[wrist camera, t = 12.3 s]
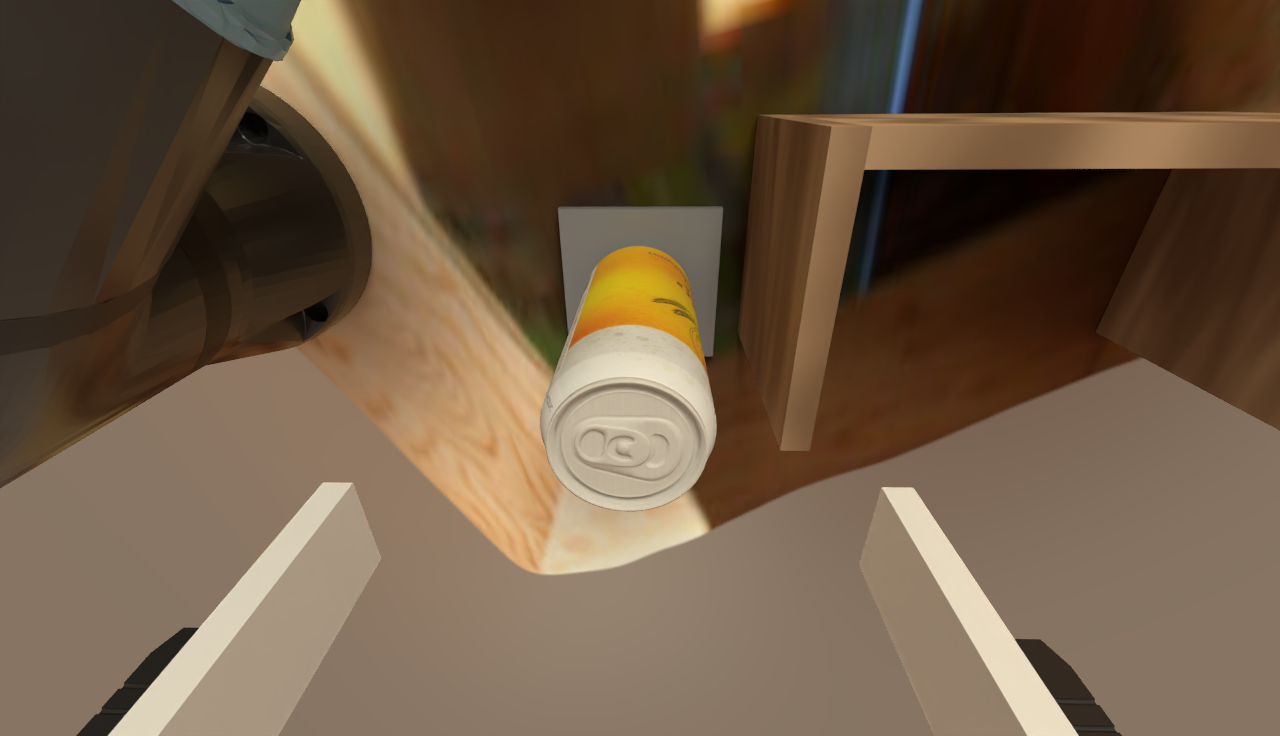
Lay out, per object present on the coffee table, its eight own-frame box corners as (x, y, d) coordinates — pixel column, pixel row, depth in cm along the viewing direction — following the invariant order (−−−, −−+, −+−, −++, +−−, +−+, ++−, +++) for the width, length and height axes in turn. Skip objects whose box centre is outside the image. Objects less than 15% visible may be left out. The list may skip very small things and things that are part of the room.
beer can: (680, 346, 31) (700, 529, 18) (583, 332, 31) (529, 509, 17) (699, 250, 28) (740, 384, 15) (592, 234, 28) (537, 356, 15)
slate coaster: (571, 351, 32) (570, 355, 31) (559, 206, 28) (557, 208, 27) (711, 352, 32) (712, 356, 31) (721, 206, 27) (723, 208, 27)
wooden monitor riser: (737, 330, 31) (780, 450, 20) (757, 114, 25) (831, 126, 15) (1115, 332, 30) (1360, 456, 20) (1223, 111, 25) (1648, 121, 14)
